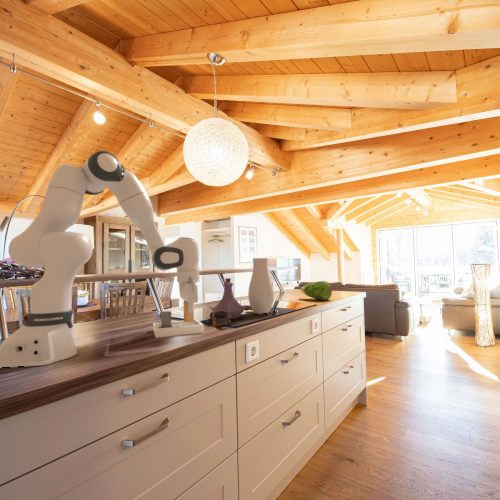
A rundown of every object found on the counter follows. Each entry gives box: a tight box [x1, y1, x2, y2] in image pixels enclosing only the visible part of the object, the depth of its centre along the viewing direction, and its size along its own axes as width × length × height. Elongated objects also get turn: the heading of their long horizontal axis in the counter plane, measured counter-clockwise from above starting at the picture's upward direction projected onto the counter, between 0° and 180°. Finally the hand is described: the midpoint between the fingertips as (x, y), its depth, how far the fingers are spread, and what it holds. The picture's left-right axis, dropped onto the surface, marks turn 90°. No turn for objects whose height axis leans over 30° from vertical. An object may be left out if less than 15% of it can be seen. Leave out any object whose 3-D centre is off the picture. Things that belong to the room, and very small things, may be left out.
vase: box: [247, 257, 275, 315], centre depth 176 cm, size 14×14×30 cm
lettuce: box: [300, 280, 333, 301], centre depth 233 cm, size 14×23×13 cm, turn 48°
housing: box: [152, 319, 205, 338], centre depth 129 cm, size 18×13×4 cm
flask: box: [212, 277, 246, 320], centre depth 164 cm, size 16×16×20 cm
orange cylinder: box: [183, 300, 195, 322], centre depth 132 cm, size 4×4×8 cm
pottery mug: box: [209, 310, 232, 329], centre depth 144 cm, size 12×10×8 cm
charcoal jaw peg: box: [160, 310, 172, 328], centre depth 128 cm, size 4×4×8 cm
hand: (188, 311), depth 132 cm, fingers closed on orange cylinder, 4 cm apart
